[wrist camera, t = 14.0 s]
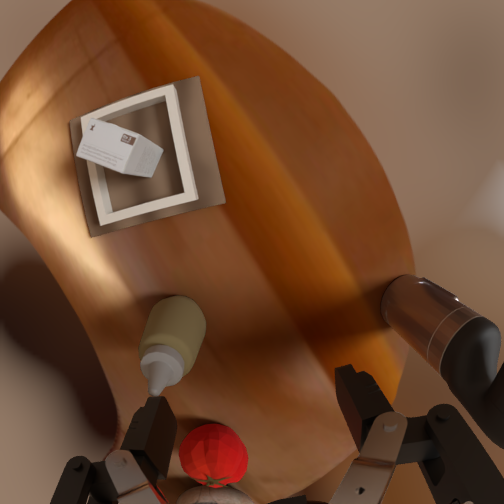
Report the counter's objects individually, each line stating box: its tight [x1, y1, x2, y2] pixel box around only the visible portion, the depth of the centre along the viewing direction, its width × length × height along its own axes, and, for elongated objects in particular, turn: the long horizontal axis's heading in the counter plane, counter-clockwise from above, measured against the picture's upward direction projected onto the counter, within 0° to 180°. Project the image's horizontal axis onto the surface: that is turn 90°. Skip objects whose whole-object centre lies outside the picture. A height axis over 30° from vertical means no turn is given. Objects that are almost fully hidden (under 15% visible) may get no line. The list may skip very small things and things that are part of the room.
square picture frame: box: [81, 84, 199, 226], centre depth 34 cm, size 13×15×2 cm
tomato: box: [179, 423, 248, 488], centre depth 41 cm, size 12×12×13 cm
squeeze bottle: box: [138, 295, 206, 397], centre depth 32 cm, size 8×8×18 cm
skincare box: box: [76, 118, 164, 178], centre depth 29 cm, size 6×4×12 cm
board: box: [70, 76, 226, 238], centre depth 35 cm, size 20×18×1 cm
